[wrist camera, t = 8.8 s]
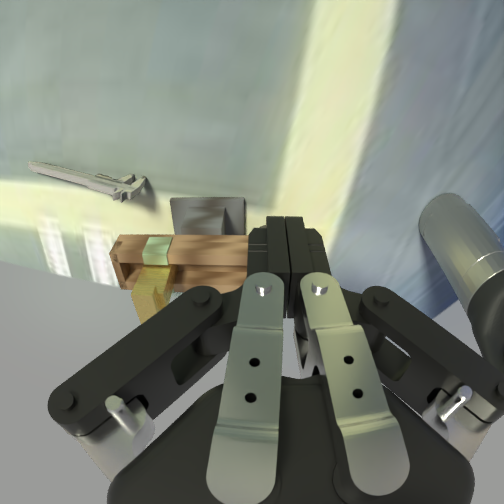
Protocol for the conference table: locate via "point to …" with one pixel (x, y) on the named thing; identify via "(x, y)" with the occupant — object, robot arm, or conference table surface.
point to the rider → (153, 289)
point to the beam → (191, 246)
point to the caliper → (94, 180)
